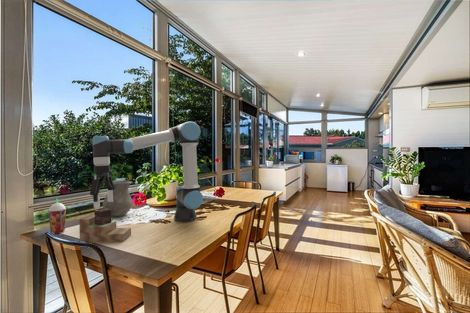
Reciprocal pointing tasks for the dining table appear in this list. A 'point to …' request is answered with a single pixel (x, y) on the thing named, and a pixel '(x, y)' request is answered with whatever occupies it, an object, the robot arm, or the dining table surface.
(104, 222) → the box
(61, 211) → the smoothie
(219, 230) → the dining table surface
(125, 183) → the vase
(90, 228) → the stepped block
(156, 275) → the dining table surface
